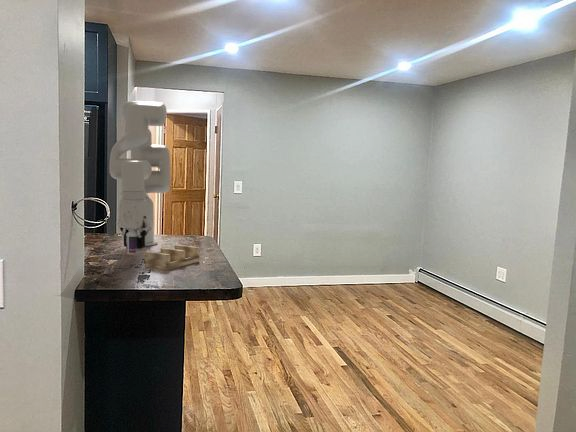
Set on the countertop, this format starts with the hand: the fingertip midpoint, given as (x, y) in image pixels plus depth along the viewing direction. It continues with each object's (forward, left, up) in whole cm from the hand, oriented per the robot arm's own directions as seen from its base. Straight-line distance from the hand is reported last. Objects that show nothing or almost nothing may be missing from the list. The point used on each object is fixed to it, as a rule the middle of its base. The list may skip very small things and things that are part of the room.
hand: (134, 246), depth 164 cm
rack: (+14, +4, -6) cm, 15 cm away
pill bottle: (0, 0, -3) cm, 3 cm away
